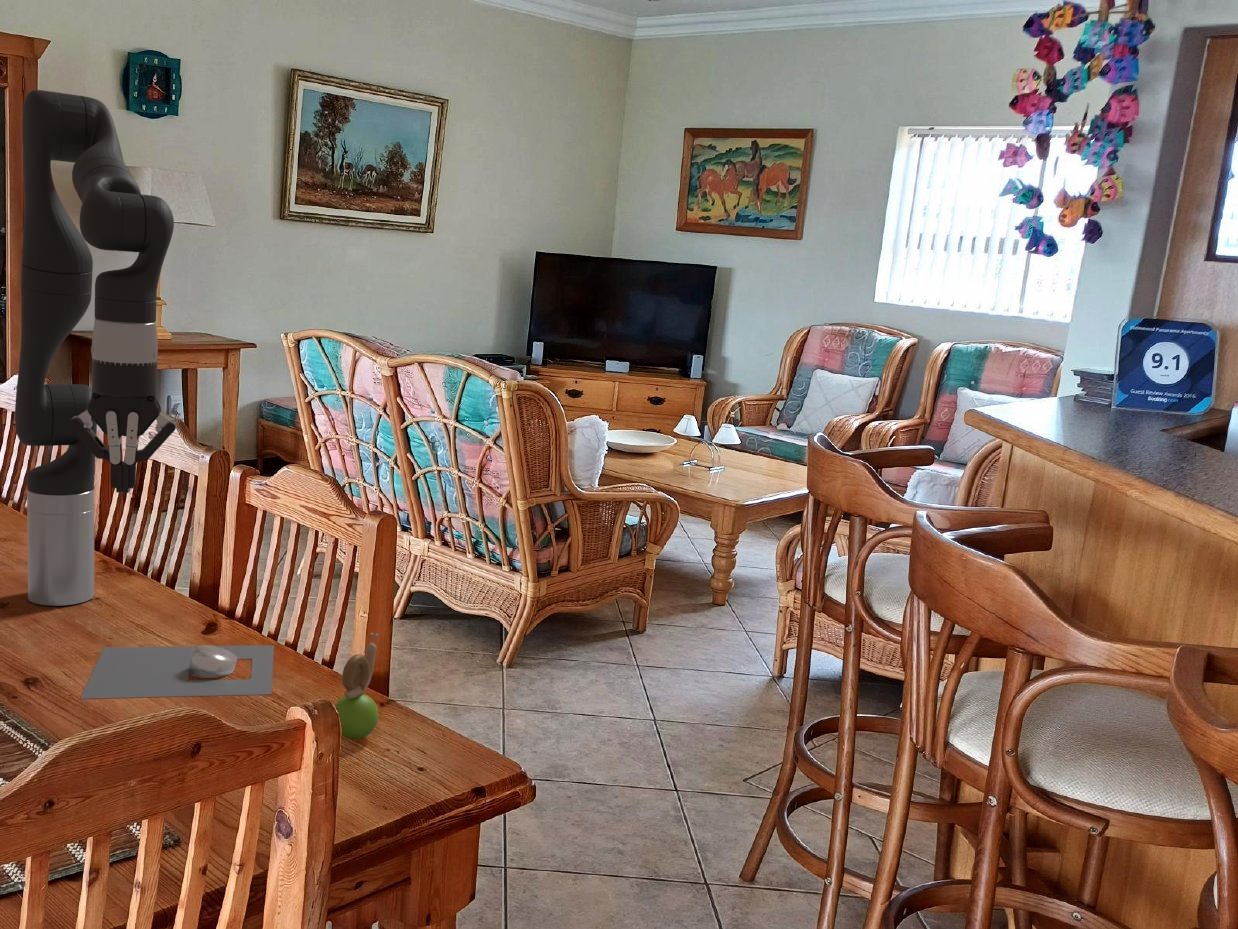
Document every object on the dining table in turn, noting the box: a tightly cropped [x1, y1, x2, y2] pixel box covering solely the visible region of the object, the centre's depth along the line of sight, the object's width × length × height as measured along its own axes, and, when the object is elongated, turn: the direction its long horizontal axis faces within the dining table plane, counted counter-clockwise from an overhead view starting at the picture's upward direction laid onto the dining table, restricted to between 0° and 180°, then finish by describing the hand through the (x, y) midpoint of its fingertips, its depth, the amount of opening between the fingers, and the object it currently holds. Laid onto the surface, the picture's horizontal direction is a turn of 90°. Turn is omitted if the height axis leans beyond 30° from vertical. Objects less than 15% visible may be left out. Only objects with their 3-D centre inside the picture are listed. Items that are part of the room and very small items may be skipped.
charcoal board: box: [79, 644, 275, 700], centre depth 149 cm, size 22×18×2 cm
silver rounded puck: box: [188, 644, 238, 679], centre depth 150 cm, size 6×6×3 cm
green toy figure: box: [334, 632, 380, 740], centre depth 136 cm, size 5×6×12 cm
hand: (123, 491), depth 146 cm, fingers closed
